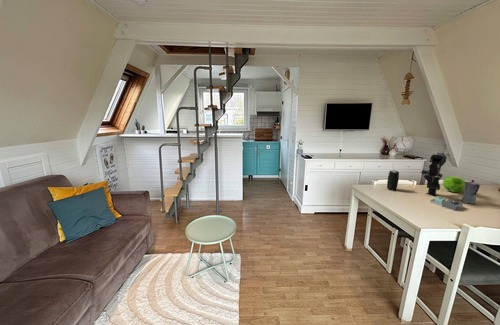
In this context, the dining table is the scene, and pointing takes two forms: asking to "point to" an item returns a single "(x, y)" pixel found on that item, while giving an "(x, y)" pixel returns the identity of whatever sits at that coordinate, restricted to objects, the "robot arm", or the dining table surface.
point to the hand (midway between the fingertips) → (431, 185)
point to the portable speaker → (392, 180)
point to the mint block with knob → (440, 199)
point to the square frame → (449, 204)
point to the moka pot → (470, 192)
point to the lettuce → (454, 184)
